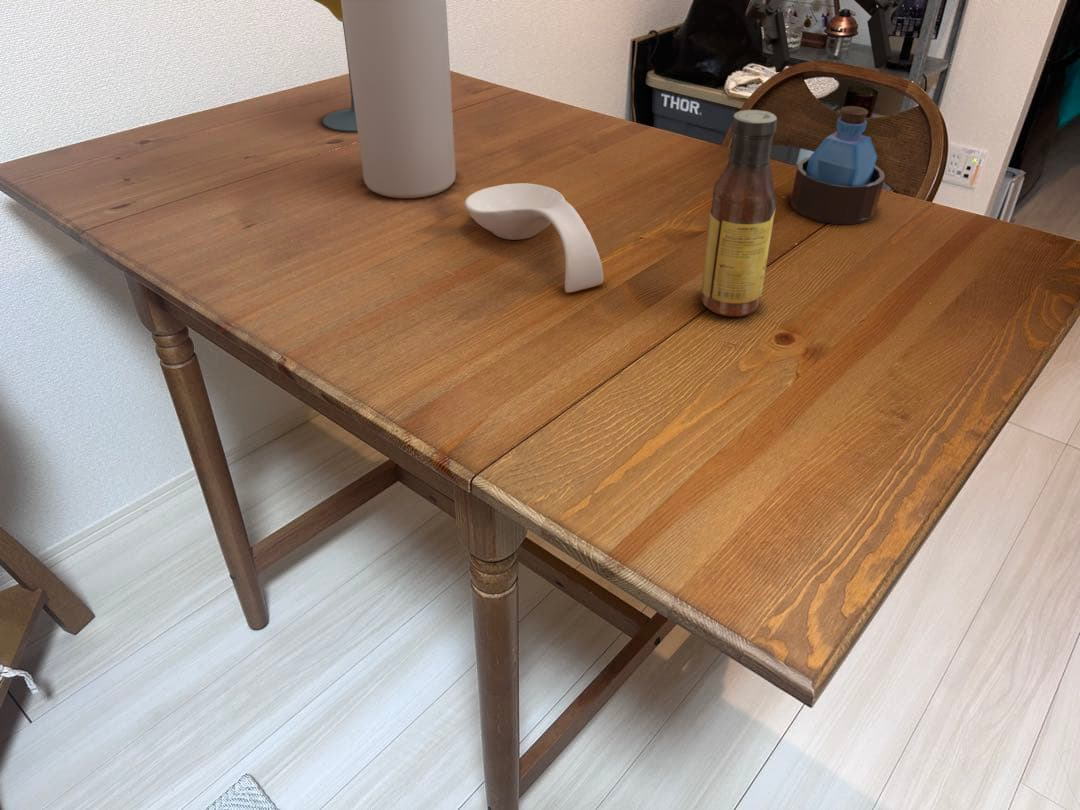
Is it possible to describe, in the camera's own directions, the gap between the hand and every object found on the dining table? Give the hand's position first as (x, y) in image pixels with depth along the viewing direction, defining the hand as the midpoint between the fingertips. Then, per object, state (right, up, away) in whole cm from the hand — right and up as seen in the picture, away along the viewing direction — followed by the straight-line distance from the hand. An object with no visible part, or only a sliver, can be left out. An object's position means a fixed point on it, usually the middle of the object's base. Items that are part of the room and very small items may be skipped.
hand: (833, 65), depth 103 cm
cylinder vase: (-55, -12, +9) cm, 57 cm away
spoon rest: (-38, -24, -6) cm, 45 cm away
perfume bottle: (+1, -17, +4) cm, 17 cm away
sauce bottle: (-17, -32, -16) cm, 40 cm away
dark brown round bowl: (+1, -17, +4) cm, 17 cm away
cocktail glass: (-67, +3, +29) cm, 73 cm away
